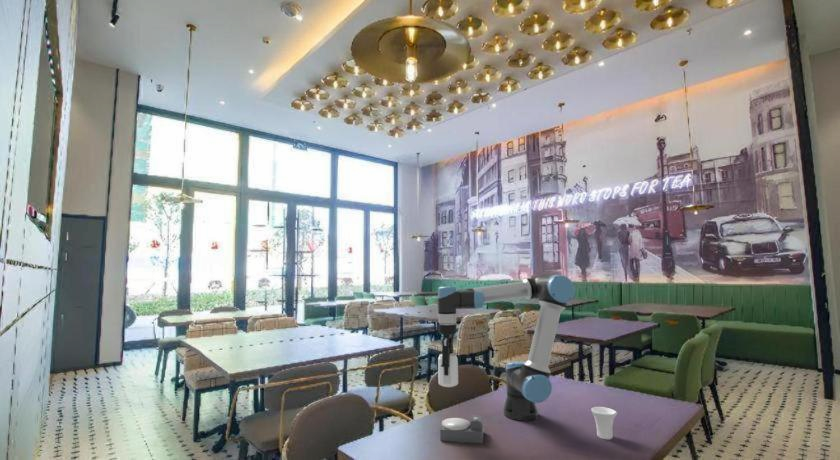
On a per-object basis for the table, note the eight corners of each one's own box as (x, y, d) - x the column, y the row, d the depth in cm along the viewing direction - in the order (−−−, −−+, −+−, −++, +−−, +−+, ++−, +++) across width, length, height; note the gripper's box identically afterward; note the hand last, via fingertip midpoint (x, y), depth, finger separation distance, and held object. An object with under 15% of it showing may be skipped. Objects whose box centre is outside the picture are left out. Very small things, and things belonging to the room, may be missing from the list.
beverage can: (456, 388, 156) (456, 357, 157) (436, 387, 158) (436, 356, 159) (459, 382, 163) (458, 353, 165) (440, 381, 165) (440, 352, 167)
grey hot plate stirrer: (483, 431, 158) (482, 411, 159) (482, 443, 147) (482, 421, 148) (443, 429, 161) (443, 409, 162) (440, 440, 150) (440, 419, 151)
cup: (617, 443, 147) (615, 415, 148) (590, 437, 152) (589, 411, 153) (619, 435, 154) (618, 408, 155) (594, 430, 159) (592, 404, 160)
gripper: (442, 320, 174) (443, 373, 172) (433, 327, 154) (434, 387, 151) (459, 320, 172) (460, 374, 170) (452, 327, 152) (454, 388, 150)
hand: (448, 380), depth 161 cm, fingers closed on beverage can, 8 cm apart
